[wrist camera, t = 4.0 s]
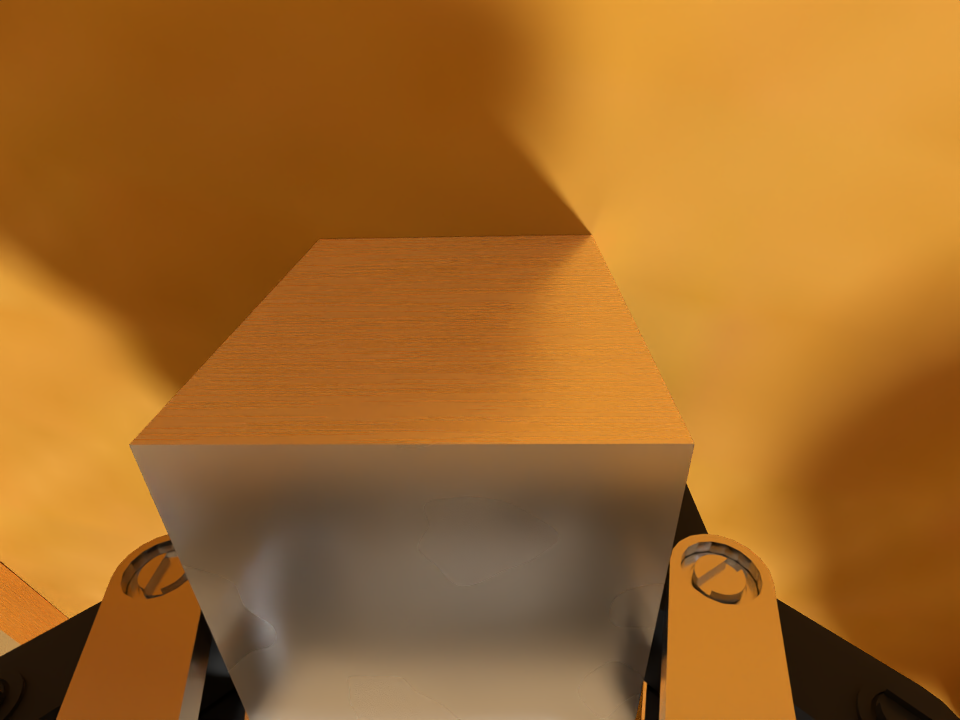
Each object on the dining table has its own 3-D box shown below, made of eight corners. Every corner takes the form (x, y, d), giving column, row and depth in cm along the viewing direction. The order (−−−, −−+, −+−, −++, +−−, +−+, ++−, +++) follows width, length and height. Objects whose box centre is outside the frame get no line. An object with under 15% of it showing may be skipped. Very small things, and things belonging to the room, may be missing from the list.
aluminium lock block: (318, 239, 10) (129, 444, 5) (591, 234, 10) (693, 443, 5) (375, 561, 14) (307, 851, 9) (566, 562, 14) (605, 858, 9)
